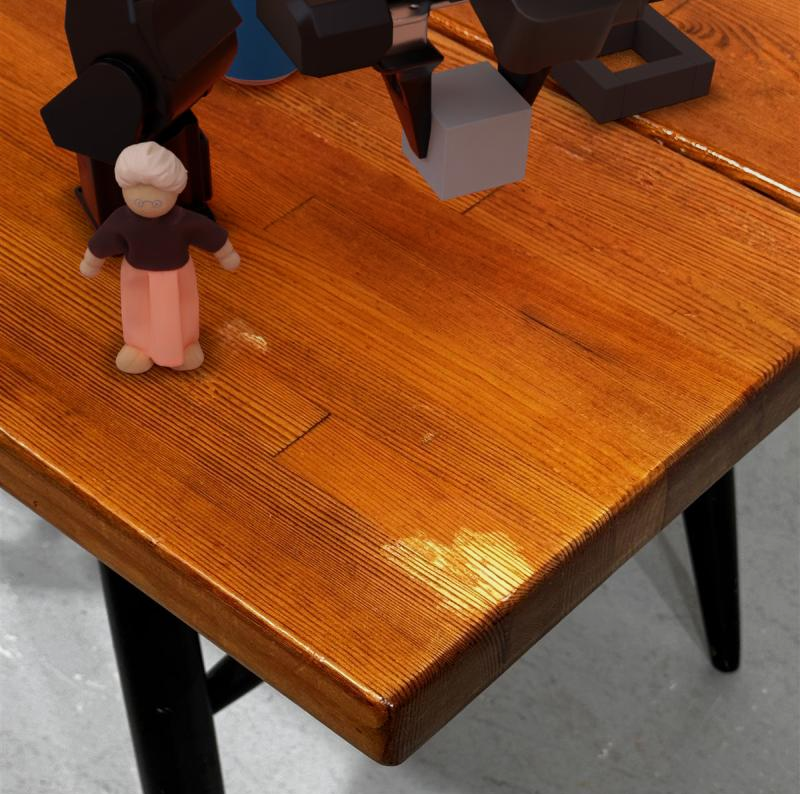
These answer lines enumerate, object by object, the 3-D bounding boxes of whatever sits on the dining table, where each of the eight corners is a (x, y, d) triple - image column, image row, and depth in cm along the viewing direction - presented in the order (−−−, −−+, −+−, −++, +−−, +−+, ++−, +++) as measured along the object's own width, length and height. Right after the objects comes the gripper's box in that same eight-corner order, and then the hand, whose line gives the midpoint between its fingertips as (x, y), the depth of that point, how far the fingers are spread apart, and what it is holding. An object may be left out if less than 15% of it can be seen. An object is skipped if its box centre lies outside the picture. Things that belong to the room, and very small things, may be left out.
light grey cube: (441, 201, 69) (446, 129, 66) (401, 151, 72) (403, 79, 69) (525, 180, 70) (533, 107, 67) (482, 131, 73) (487, 59, 70)
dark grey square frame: (600, 124, 91) (605, 89, 89) (533, 60, 96) (536, 25, 94) (709, 94, 94) (716, 59, 92) (638, 33, 99) (643, -1, 97)
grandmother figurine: (102, 392, 73) (68, 182, 64) (91, 343, 76) (56, 134, 67) (252, 366, 75) (239, 158, 66) (236, 319, 77) (222, 112, 68)
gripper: (358, -57, 51) (355, 291, 62) (795, -143, 57) (719, 190, 68) (242, -182, 58) (258, 153, 69) (643, -247, 63) (597, 71, 75)
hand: (463, 143), depth 70 cm, fingers closed on light grey cube, 4 cm apart
